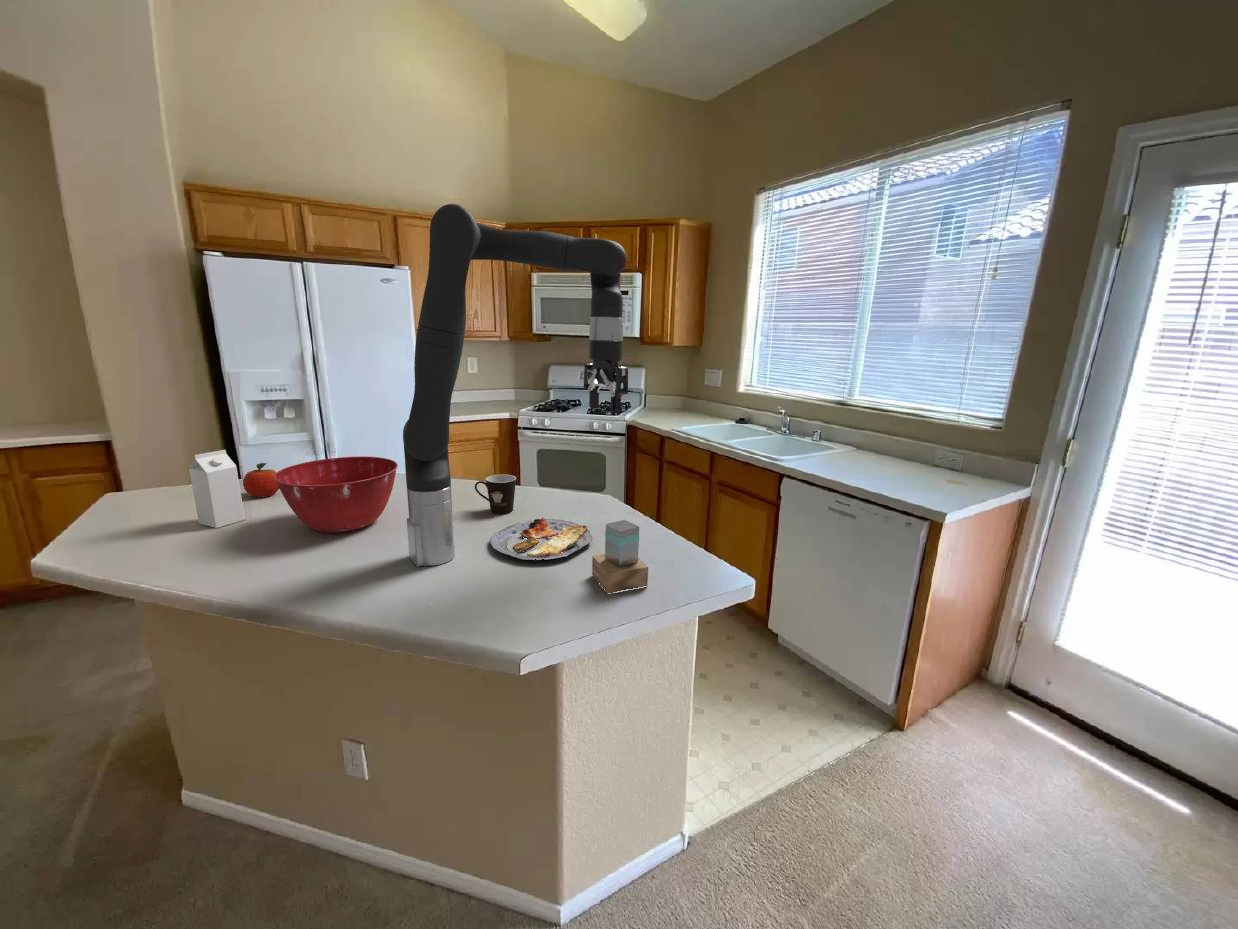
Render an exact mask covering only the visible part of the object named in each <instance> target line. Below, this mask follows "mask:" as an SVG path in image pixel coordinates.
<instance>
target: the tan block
mask: <svg viewBox="0 0 1238 929" xmlns="http://www.w3.org/2000/svg"><path fill="white" fill-rule="evenodd" d="M591 557H592V558H591V559H592V560H591V561H592V562H591V563H592V565H591V576H592V575H593V576H592V578H593V577H595V579H596V580H597V581H596V580H595V579H594V580H595V581H596V582H598V583H600V585H601V586H602V587H603V589H605V591H606V592H607V594H608V593H613V592H617V591H621V590H626V589H633V588H638V587H643V586H647V587H648V580H649V566H648V565H647V564H646V563H645V562H644V561H642V560H641V559H640V558H639V557H638V562H637V563H634V564H631V565H628V566H624V567H621V568H618V567H616V566H615V565H613V564H612V563H610V562H608V561H607V560H605V553H603V554H602V553H601V554H597V555H592V556H591ZM598 583H597V584H598ZM600 585H599V586H600ZM601 586H600V587H601ZM603 589H602V590H603ZM605 591H604V592H605ZM607 594H606V595H607Z"/></svg>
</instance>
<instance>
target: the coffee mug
mask: <svg viewBox="0 0 1238 929" xmlns="http://www.w3.org/2000/svg"><path fill="white" fill-rule="evenodd" d="M516 482H517V477H516V476H515V475H511V474H494V475H490V476H487V477H486V478H485V481H483V480H479V481H477V482H475V484H474V490H475V492H476V493H477V494H478V495H479V496H480V497H482V498H483V499H485V500H486V501H488V502H489V507H490V508H489V509H490V513H491V512H492V513H491V514H493V515H496V514H501V515H502V514H505V515H509V514H511V513H510V512H512V511H513V512H514V504H515V494H516V484H517V483H516ZM479 484H483V485H485V487H486V490H487V496H488V497H487V496H486V495H484V494H483V493H481V492H480V491H479V490H478V485H479ZM513 512H512V513H513ZM508 513H509V514H508ZM501 515H500V516H501Z"/></svg>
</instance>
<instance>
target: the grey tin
mask: <svg viewBox="0 0 1238 929" xmlns="http://www.w3.org/2000/svg"><path fill="white" fill-rule="evenodd" d="M604 535H605V536H604V537H605V541H604V543H605V544H604V545H605V546H604V551H605V552H604V554H605V560H607V561H608V562H610V563H612V564H613V565H615V566H616V567H618V568H621V567H624V566H628V565H631V564H634V563H637V562H638V558H639V548H640V545H639V543H640V526H639V525H637V524H635V523H632V522H631V521H629V520H626V519H623V520H618V521H613V522H610V523H605V533H604Z"/></svg>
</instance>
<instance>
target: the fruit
mask: <svg viewBox="0 0 1238 929" xmlns="http://www.w3.org/2000/svg"><path fill="white" fill-rule="evenodd" d="M267 464H268V463H266V462H261V463H256V468H257V469H253V470H250V471H248V472H246V474H245V475H244V478H243V479H242V486H243V488H244V490H245V492H246V493H247V494H249V496H252V497H254V498H267V497H271V496H273V495H275V494H276V493H277V492H278V491H279V490H280V489H279V486H278V484H277V482H276V481H275V480H274V479H273V476H274V475H275V473H277V472H278V471H275V470H274V469H272V468H271V469H263V468H264V467H265V466H266V465H267Z"/></svg>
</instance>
